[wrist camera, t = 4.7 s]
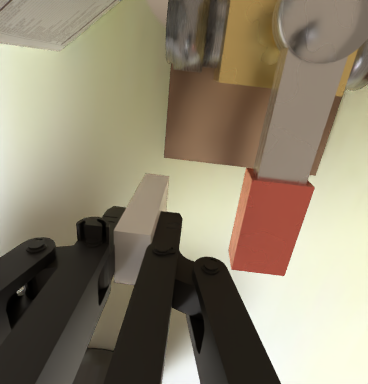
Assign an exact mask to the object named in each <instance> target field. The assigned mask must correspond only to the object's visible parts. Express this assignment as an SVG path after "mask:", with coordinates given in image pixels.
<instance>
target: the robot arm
mask: <svg viewBox="0 0 368 384" xmlns="http://www.w3.org/2000/svg"><path fill="white" fill-rule="evenodd" d="M168 184H169V176H163V175H155V174H147V173H145V175H144V177H143V179H142V181H141V182H140V184H139V186H138V188H137V190H136V191H135V193H134V195H133V197H132V199H131V200H130V202H129V204H128V206H127V208H125V207H117V206H113V207H112V208H110V209H108V210H107V211H106V212H105V214H104V215H103V217H102V218H101V217H89V218H84V219H82V220H80V221H79V222H77V223H76V226H77V239H78V241H77V242H76V243H75V245H72V246H63V247H56V246H55V242H54V241H53V240H51V239H50V238H44V237H42V238H34V239H30V240H28V241H26V242H24V243H22V244H20V245H19V246H17V247H16V248H14V249H13V250H11V251H10V252H8V253H6V254H5V255H3V256H2V257H0V384H162V377H163V370H164V362H165V354H166V347H167V339H168V331H169V323H170V316H171V309H172V308H174V309H176V310H178V311H181V312H183V313H185V314H186V318H187V323H188V328H189V332H190V337H191V342H192V346H193V351H194V356H195V360H196V365H197V370H198V374H199V379H200V384H281V383H280V381H279V378H278V376H277V374H276V372H275V370H274V368H273V365H272V363H271V361H270V359H269V357H268V355H267V353H266V350H265V348H264V346H263V344H262V342H261V340H260V338H259V335H258V333H257V331H256V329H255V327H254V325H253V323H252V320H251V318H250V316H249V314H248V312H247V310H246V308H245V305H244V303H243V301H242V299H241V297H240V295H239V293H238V290H237V288H236V286H235V284H234V282H233V280H232V278H231V275H230V273H229V271H228V269H227V267H226V266H225V264H224V263H223V262H221V261H220V260H218V259H216V258H213V257H202V258H199V259H197V260H196V261H195V262H194V261H191V260H189V259H187V258H185V257H184V256H183V255H182V254H181V253H180V251H179V244H180V236H181V228H182V217H181V215H180V214H179V213H172V212H166V207H167V195H168ZM113 275H114V282H115V283H123V284H131V285H135V286H134V289H133V292H132V295H131V298H130V301H129V305H128V308H127V311H126V314H125V317H124V320H123V323H122V327H121V330H120V333H119V336H118V339H117V342H116V346H115V349H114V352H112V351H108V350H101V349H87V347H88V345H89V342H90V340H91V337H92V335H93V332H94V330H95V328H96V325H97V323H98V320H99V318H100V315H101V313H102V311H103V308H104V306H105V303H106V301H107V298H108V296H109V294H110V290H111V280H112V277H113ZM23 286H24V290H23V291H22V292H20V293H18V294H17V291H18V290H19V289H20V288H21V287H23Z"/></svg>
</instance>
